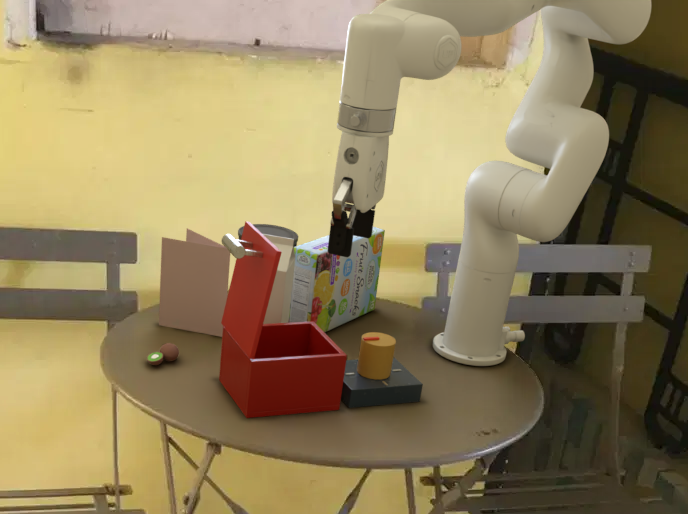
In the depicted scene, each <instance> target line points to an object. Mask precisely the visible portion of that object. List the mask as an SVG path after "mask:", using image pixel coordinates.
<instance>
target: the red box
mask: <svg viewBox="0 0 688 514" xmlns="http://www.w3.org/2000/svg"><path fill="white" fill-rule="evenodd" d="M347 358H348V355H347V354H346V353H345V351H343V350H342V348H340V346H339V345H338V344H336V342H335V341H333V339H332V338H330V337H329V335H328V334H327V333H326V332H323V330H322V329H321V328H320V327H319V326H318V325H317V324H316V323H315V322H314V321H310V322H291V323H272V324H263V326H262V330H261V334H260V338H259V342H258V346H257V349H256V353H255V357H254V359H250V358H249V357H248V356H247V355H246V353H245V352H244V351H243V350H242V348H241V347H240V346H239V345H238V343H237V342H236V341H235V340H234V339H233V337H232V336H231V335H230V334H229V332H228V331H227V330H226V329H225V327H224V326H223V333H222V337H221V349H220V363H219V375H218V380H219V382H220V383H221V385H222V387H223V388H224V389H225V390H226V392H227V393H228V394H229V396H230V397H231V399H232V401H234V403H235V404H236V405H237V407H238V408H239V409H240V411H241V412H242V414H243V416H245V418H246V419H249V418H250V419H253V418H263V417H273V416H285V415H297V414H309V413H319V412H329V411H330V412H331V411H339V410H340V409H341V408H340V407H341V402H342V400H341V394H342V387H343V380H344V373H345V366H346V360H348V359H347Z"/></svg>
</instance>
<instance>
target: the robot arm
mask: <svg viewBox="0 0 688 514" xmlns="http://www.w3.org/2000/svg"><path fill="white" fill-rule="evenodd" d="M538 11H540V18H541V26H542V34H543V35H542V36H543V37H542V38H543V50H542V55H541V56H542V57H541V60H540V64H539V66H538V68H537V70H536V73H535V74H534V77H533V78H532V81H531V82H530V84H529V86H528V87H527V89H526V92H524V93H525V94H524V95H523V97H522V99H521V101H520V103H519V104H518V106H517V108H516V110H515V112H514V114H513V116H512V117H511V119H510V122H509V125H508V127H507V130H506V133H505V138H504V139H505V141H504V142H505V147H506V148H507V150H508V151H509V152H510V153H511V154H512V155H513V156H515V157H516V158H519V159H521V160H523V161H525V162H528V163H531V164H534V165H537V166H540V167H542V168H546V169H549V171H548V174H547V175H546V174H545V173H541V172H537V171H534V170H532V169H530V168H527V167H524V166H520V165H517V164H514V163H511V162H507V161H503V160H488V161H485V162H483V163H481V164H479V165H478V166H477V167H475V168H474V170H473V171H472V172H471V173H470V175H469V176H468V179H467V182H466V185H465V190H464V198H463V200H464V202H463V203H464V205H463V206H464V208H463V211H464V213H463V214H464V216H463V231H462V238H461V244H460V248H459V250H460V251H459V254H458V260H457V264H456V269H455V270H456V271H455V275H454V281H453V284H452V285H453V286H452V292H451V295H450V301H449V305H448V312H447V315H446V321H445V326H444V331H443V332H440V333H438V334H436V335H435V336H434V337H433V339H432V348H433V350H434V351H435V353H437V354H438V355H440V356H441V357H443V358H445V359H447V360H449V361H452V362H455V363H458V364H463V365H465V366H466V365H468V366H473V367H474V366H475V367H489V366H496V365H498V364H501V363H503V362H504V361H505V360H506V357H507V348H506V347H505V345H508V344H509V343H518V342H524V340H525V338H526V334H525V331H524V330H522V329H521V330H512V331H511V327H510V326H504V325H505V322H506V321H505V320H506V316H507V312H508V307H509V304H510V303H509V302H510V299H511V298H510V297H511V294H512V289H513V285H514V281H515V277H516V272H517V269H518V264H519V259H520V258H519V257H520V246H519V245H520V244H519V239H518V236H521V237H523V238H526V239H528V240H531V241H535V242H539V243H548V242H551V241H554V240H555V239H557V237H559V236H560V235H561V234H562V233H563V232H564V231H565V229H566V228H567V226H568V225H569V223H570V221H571V220H572V218H573V216H574V215H575V213H576V211H577V209H578V208H579V205H580V204H581V202H582V200H583V199H584V197H585V195H586V193H587V192H588V189H589V188H590V186H591V184H592V182H593V180H594V179H595V177H596V175H597V174H598V171H599V169H600V168H601V166H602V163H603V161H604V159H605V157H606V153H607V151H608V147H609V141H610V129H609V125H608V123H607V122H606V120H605V119H604V117H603V116H601V115H600V113H597V112H595V111H594V110H590V109H587V108H583V107H581V106H582V104H583V103H584V101H585V99H586V97H587V94H588V93H589V91H590V89H591V86H592V84H593V81H594V71H595V70H594V61H593V60H594V59H593V56H592V52H591V46H590V42H589V40H594V41H599V42H603V43H608V44H613V45H626V44H629V43H631V42H633V41H634V40H636V39H638V38H639V37H640V36H641V34H642V33H643V32H644V31H645V29H646V28H647V25H648V24H649V21H650V18H651V14H652V0H384V1H383V2H381V3H380V4H378V5H377V6H376V7H375V8H373V10H372V11H370V13H360V14H356V15H354V16H353V17H352V18H351V19H350V21H349V23H348V27H347V33H346V42H345V50H344V58H343V59H344V60H343V67H342V76H341V85H340V93H339V104H338V112H337V120H336V129H338V131H341V135H340V141H339V145H338V151H337V157H336V163H335V168H334V175H333V184H332V195H331V203H332V211H331V213H330V215H331V219H330V222H329V223H330V227H329V233H328V235H329V243H328V253H329V254H334V255H338V256H343V257H349V256H350V255H351V249H352V242H353V235H354V236H359V237H364V238H370V237H371V236H372V230H373V227H374V224H375V223H374V222H375V215H376V210H375V209H376V207H377V204H378V203H379V202H381V200H382V199H383V198H384V195H385V189H386V178H387V172H388V171H387V169H388V159H389V146H390V136H392V135H394V129H395V122H396V115H397V107H398V102H399V93H400V87H401V80H402V79H403V78H410V79H411V78H412V79H416V80H417V79H418V80H422V81H423V80H425V81H432V80H438V79H440V78H443V77H445V76H447V75H448V74H450V73H451V72H452V71H453V69H455V68H456V66H457V64H458V63H459V60H460V57H461V54H462V45H463V44H462V39H461V37H462V38H463V37H466V38H467V37H468V38H476V37H477V38H478V37H484V36H494V35H498V34H502V33H504V32H505V31H507V30H509V29H510V28H512V27H513V26H515V25H517V24H518V23H520V22H522V21H524V20H526V19H527V18H529V17H531V16H532V15H533V14H535V13H537V12H538ZM348 212H349V213H348Z"/></svg>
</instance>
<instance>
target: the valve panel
mask: <svg viewBox="0 0 688 514" xmlns="http://www.w3.org/2000/svg"><path fill="white" fill-rule="evenodd" d="M357 365H358V358H356V359H346V366H345V373H344V380H343V387H342V394H341V402H343V403H344V404H345V405H346V406H347V407H348V409H352V408H363V407H364V408H365V407H373V406H374V407H375V406H384V405H385V406H386V405H396V404H397V405H398V404H408V403H419V402H421V397H422V391H423V386H424V384H423V382H421V381H420V380H419V378H417V376H415V375H414V374H413V373H412V372H411V371H409V370H408V368H406V367H405V365H403V364H402V363H401V362H400V361H399V360H398V359H397V358H396V357H395V356H394V357H393V363H392V368H391V374H390V376H389V377H388V378H386V379H381V380H376V379H369V378H366V377H363V376H361V375H360V374H359V373H358V372H357Z"/></svg>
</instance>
